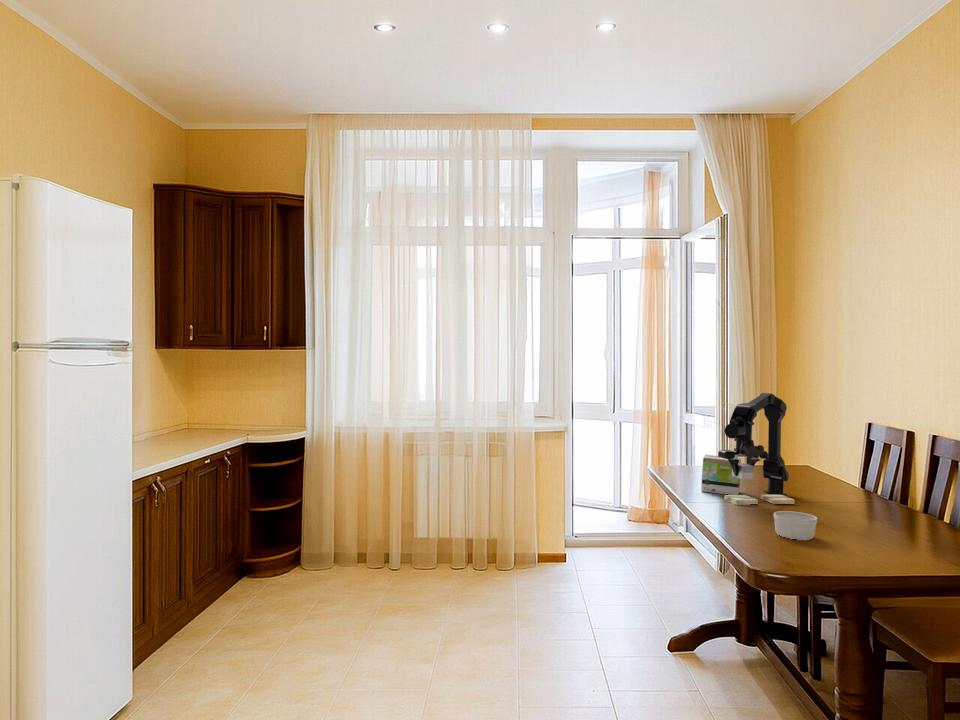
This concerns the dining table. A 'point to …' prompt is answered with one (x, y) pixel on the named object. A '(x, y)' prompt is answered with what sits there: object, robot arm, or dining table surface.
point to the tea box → (719, 476)
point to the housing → (744, 471)
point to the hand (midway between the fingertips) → (742, 475)
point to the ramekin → (795, 525)
